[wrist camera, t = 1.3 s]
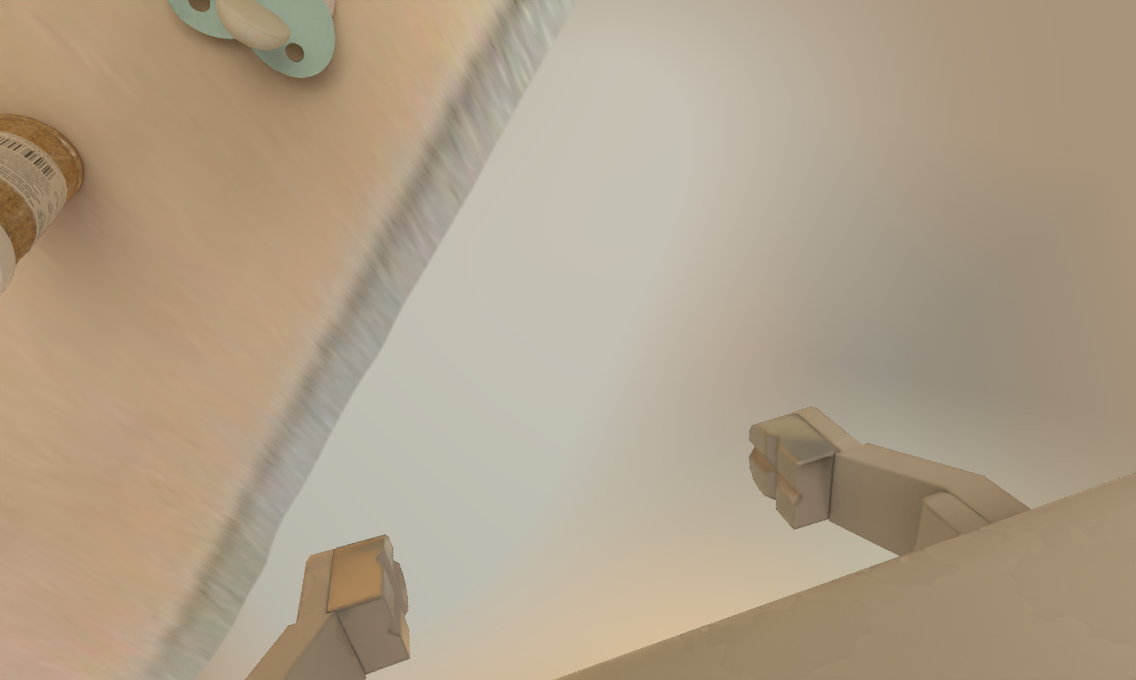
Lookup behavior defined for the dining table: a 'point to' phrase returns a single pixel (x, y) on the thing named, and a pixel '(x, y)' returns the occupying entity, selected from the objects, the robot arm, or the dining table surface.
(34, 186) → the sprinkles bottle
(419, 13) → the dining table surface
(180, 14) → the pacifier
